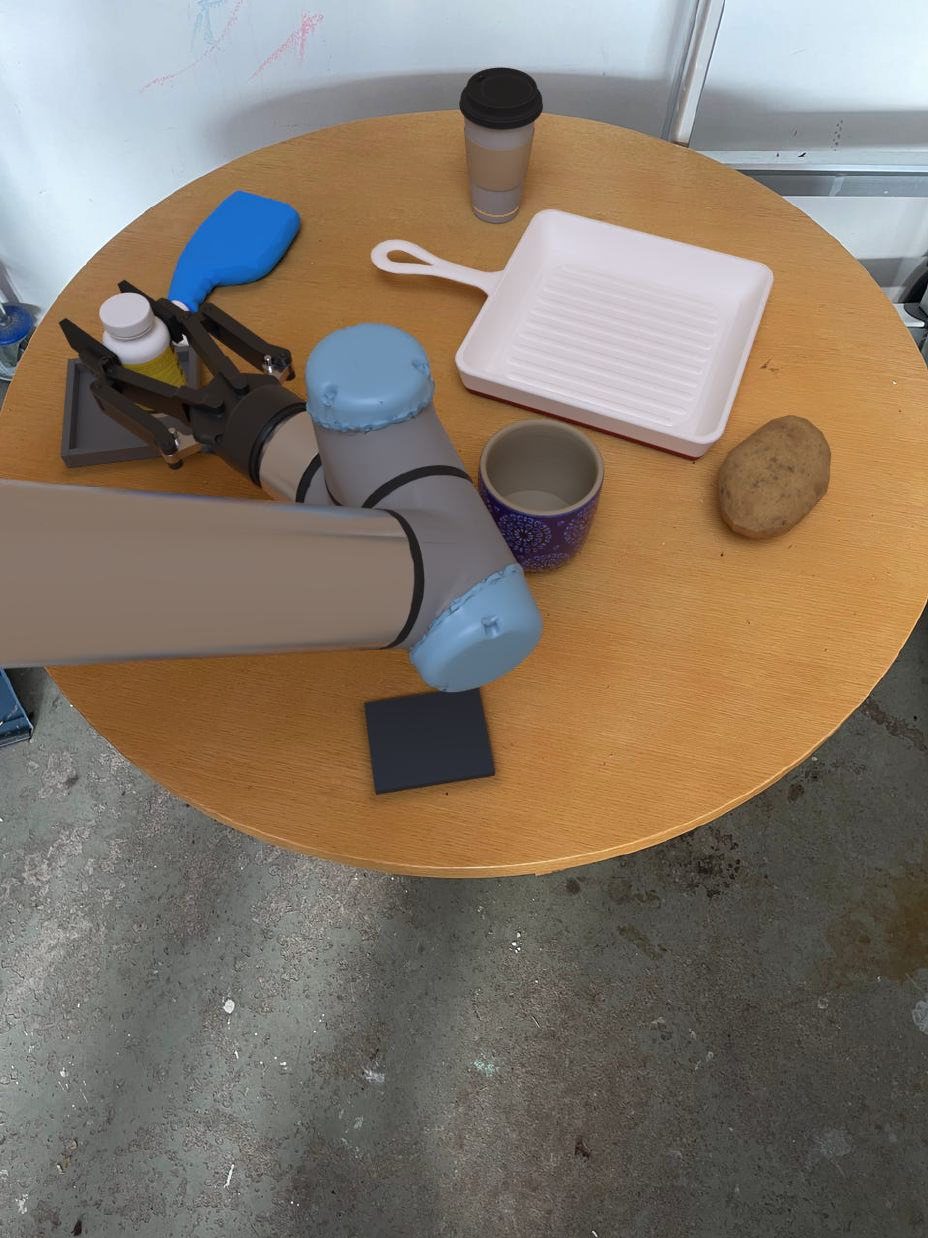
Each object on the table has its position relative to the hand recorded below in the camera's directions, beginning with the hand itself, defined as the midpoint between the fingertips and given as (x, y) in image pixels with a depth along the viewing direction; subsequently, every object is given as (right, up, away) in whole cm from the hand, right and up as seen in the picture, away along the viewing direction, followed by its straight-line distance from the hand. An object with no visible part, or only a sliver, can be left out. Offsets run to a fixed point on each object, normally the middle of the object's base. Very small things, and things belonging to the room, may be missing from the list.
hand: (98, 313), depth 73 cm
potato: (+60, -15, +13) cm, 64 cm away
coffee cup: (+35, +26, +36) cm, 56 cm away
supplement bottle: (+4, -6, +4) cm, 8 cm away
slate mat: (+28, -36, 0) cm, 46 cm away
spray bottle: (+2, +14, +29) cm, 32 cm away
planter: (+38, -18, +11) cm, 43 cm away
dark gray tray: (-4, -4, +18) cm, 19 cm away
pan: (+41, +7, +25) cm, 48 cm away
